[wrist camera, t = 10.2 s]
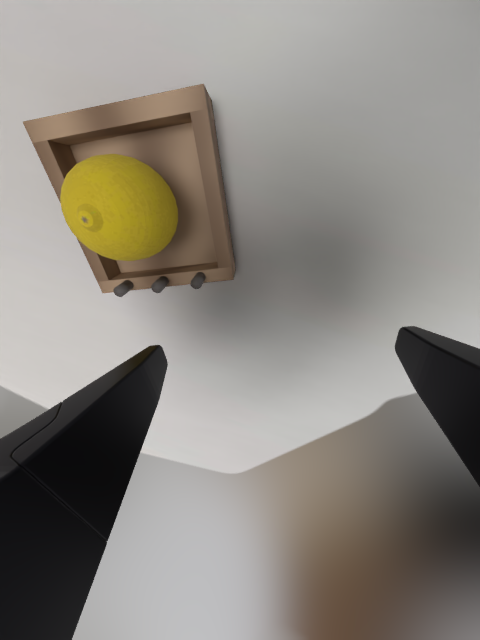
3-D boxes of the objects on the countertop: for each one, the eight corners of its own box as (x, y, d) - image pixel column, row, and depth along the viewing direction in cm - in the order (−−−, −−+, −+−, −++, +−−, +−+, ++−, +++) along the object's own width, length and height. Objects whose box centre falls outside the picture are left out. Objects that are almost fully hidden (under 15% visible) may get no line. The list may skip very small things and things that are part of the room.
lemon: (102, 194, 17) (-8, 197, 10) (155, 143, 15) (69, 102, 8) (153, 258, 19) (94, 297, 12) (205, 219, 17) (171, 239, 10)
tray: (211, 100, 14) (197, 70, 11) (235, 269, 19) (231, 286, 16) (55, 131, 15) (-3, 114, 12) (118, 282, 21) (91, 300, 17)
